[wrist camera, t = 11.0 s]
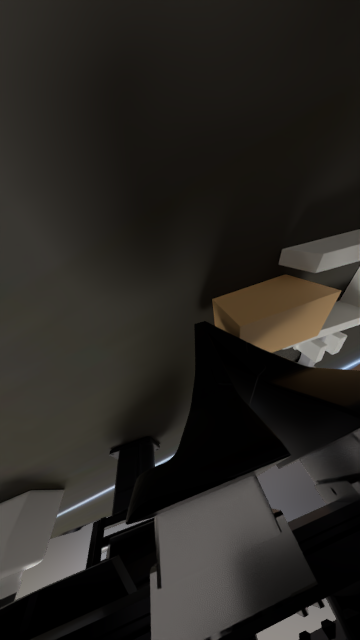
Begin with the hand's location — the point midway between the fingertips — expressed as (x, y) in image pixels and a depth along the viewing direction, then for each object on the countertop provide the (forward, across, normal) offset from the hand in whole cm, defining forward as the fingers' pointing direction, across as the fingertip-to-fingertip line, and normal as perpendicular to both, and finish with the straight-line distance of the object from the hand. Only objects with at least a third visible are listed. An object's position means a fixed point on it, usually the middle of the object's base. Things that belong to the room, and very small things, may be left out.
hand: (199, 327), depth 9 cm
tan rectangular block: (+1, -5, 0) cm, 5 cm away
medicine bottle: (+1, +36, +29) cm, 46 cm away
